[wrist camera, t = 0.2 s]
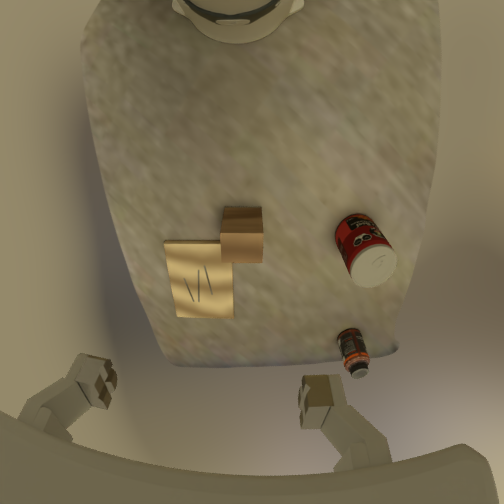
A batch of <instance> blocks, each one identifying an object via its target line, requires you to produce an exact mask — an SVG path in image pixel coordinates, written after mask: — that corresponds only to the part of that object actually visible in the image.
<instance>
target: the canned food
mask: <svg viewBox="0 0 504 504" xmlns="http://www.w3.org/2000/svg"><path fill="white" fill-rule="evenodd" d="M336 244H337V246H338V249H339V251H340V253H341V255H342V258H343V260H344V262H345V265H346V267H347V269H348V272H349V274H350V276H351V278H352V280H353V281H354V283H355V284H356V285H358V286H360V287H364V288H371V287H375V286H378V285H380V284H382V283H384V282H385V281H386V280H388V279H389V278H390V277H391V275H392V274H393V273H394V271H395V269H396V266H397V256H396V254H395V252H394V250H393V248H392V247H391V245H390V244H389V242H388V241H387V240H386V238H385V237H384V235H383V234H382V233H381V231H380V230H379V228H378V227H377V226H376V224H375V223H374V222H373V221H372V219H370V218H369V217H367V216H364V215H360V214H358V215H352V216H350V217H347V218H346V219H344V220H343V221H342V222H341V224H340V225H339V226H338V228H337V231H336Z"/></svg>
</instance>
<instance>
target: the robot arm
mask: <svg viewBox="0 0 504 504" xmlns="http://www.w3.org/2000/svg"><path fill="white" fill-rule="evenodd" d="M303 7H304V0H173V1H172V8H173V10H174V11H175V12H177V13H179V14H181V15H183V16H185V17H187V18H188V19H190V20H191V22H192V23H193V24H194V25H195V27H196V28H197V29H198V30H199V31H200V32H202V33H203V34H204V35H206V36H208V37H209V38H211V39H214V40H217V41H220V42H224V43H231V44H241V43H249V42H253V41H256V40H259V39H261V38H264V37H266V36H267V35H269V34H270V33H272V32H273V31H274V30H275V29H277V28H278V27H279V25H280V24H281V23H282V22H283V21H284V19H285V18H287V17H288V16H290V15H292V14H294V13H296V12H298V11H300V10H301V9H302V8H303ZM112 365H113V364H112V362H111V360H110V359H106V358H101V357H96V356H92V355H88V354H84V353H80V354H79V355H78V356H77V357H76V359H75V361H74V363H73V364H72V366H71V368H70V370H69V372H68V374H67V375H66V377H65V378H61V379H60V380H58V381H56V382H55V383H53V384H52V385H50V386H49V387H47V388H45V389H44V390H42V391H40V392H39V393H37V394H36V395H34V396H32V397H31V398H29V399H28V400H27V402H26V404H25V405H24V407H23V409H22V411H21V413H20V415H19V417H18V419H16V418H13V417H11V416H10V415H8V414H5V413H4V412H2V411H0V504H499V499H498V495H497V490H496V486H495V481H494V478H493V474H492V471H491V468H490V465H489V463H488V461H487V459H486V458H485V457H484V456H482V455H481V454H480V453H479V452H477V451H476V450H474V449H473V448H471V447H469V446H467V445H466V444H458V445H454V446H451V447H448V448H445V449H442V450H439V451H436V452H433V453H429V454H426V455H422V456H418V457H415V458H410V459H406V460H402V461H398V462H394V463H393V462H392V458H391V454H390V450H389V447H388V443H387V439H386V437H385V436H384V435H382V433H380V432H379V431H378V430H377V429H376V428H375V427H374V426H373V425H372V424H370V423H369V422H368V421H367V420H366V419H365V418H364V417H363V416H362V415H361V414H359V412H357V411H356V410H355V409H354V408H353V407H352V406H351V405H347V401H346V397H345V393H344V389H343V384H342V381H341V377H340V375H339V374H336V375H304V376H303V377H302V386H301V387H300V389H299V394H298V405H299V408H300V410H301V413H300V426H301V429H321V431H322V432H323V433H324V435H325V436H326V437H327V438H328V440H329V441H330V442H331V443H332V445H333V446H334V447H335V448H336V449H337V451H338V452H339V453H340V454H341V456H342V458H341V459H340V460H339V462H338V463H337V464H336V465H335V467H334V472H331V473H321V474H309V475H289V476H250V475H249V476H248V475H229V474H216V473H206V472H197V471H189V470H181V469H175V468H169V467H164V466H158V465H153V464H148V463H143V462H139V461H134V460H130V459H126V458H122V457H118V456H114V455H110V454H107V453H104V452H100V451H97V450H94V449H90V448H87V447H84V446H81V445H78V444H75V443H72V440H73V438H72V436H71V434H70V433H69V432H68V431H67V430H66V429H67V428H68V427H69V426H70V425H71V424H73V423H74V422H75V421H76V420H77V419H78V418H79V417H80V416H81V415H83V414H84V413H85V412H86V411H88V410H89V409H90V408H91V406H94V407H98V408H102V409H108V407H109V404H110V402H111V399H112V398H111V393H112V392H114V391H115V389H116V386H117V374H116V371H114V369H112V368H111V367H112Z"/></svg>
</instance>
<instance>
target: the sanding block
mask: <svg viewBox="0 0 504 504" xmlns="http://www.w3.org/2000/svg"><path fill="white" fill-rule="evenodd" d="M220 242H221V262H222V263H262V257H263V222H262V209H261V207H225V209H224V214H223V220H222V225H221V231H220Z"/></svg>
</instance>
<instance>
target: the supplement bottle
mask: <svg viewBox="0 0 504 504" xmlns="http://www.w3.org/2000/svg"><path fill="white" fill-rule="evenodd" d="M338 344H339V348H340V352H341V355H342V359H343V363H344V367H345V369H346V370H347V371H348V372H350V373H351V376H352V378H354V379H359V378H362V377H364V376H366V375H367V374H368V372H369V370H368V365H369V362H370V359H369V356H368V352H367V350H366V347H365V344H364V341H363V338H362V335H361V333H360V331H358V330H356V329H349V330H346V331H344V332H343V333H341V334H340V335H339V337H338Z"/></svg>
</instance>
